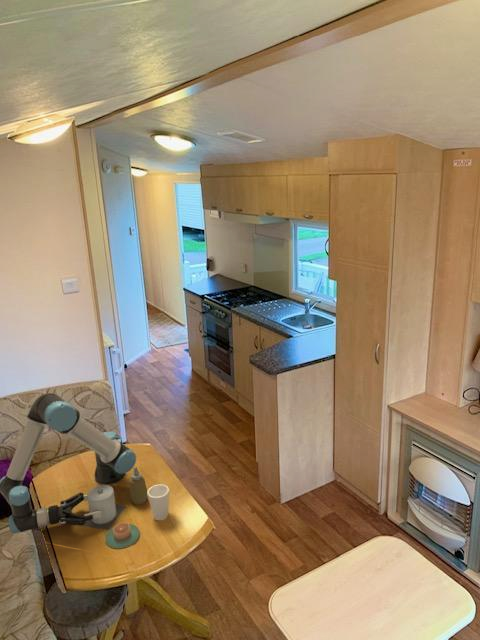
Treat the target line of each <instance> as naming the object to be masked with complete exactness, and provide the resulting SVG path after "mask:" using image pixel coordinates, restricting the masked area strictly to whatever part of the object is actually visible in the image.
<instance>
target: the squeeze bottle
mask: <svg viewBox="0 0 480 640" xmlns="http://www.w3.org/2000/svg"><path fill="white" fill-rule="evenodd" d="M130 475H131V476H130V479H129V497H130V499H131V501H132V503H133V504H134V505H136V506H139V505H143V504H145V503H146V501H147V499H148V494H147V491H148V489H147V484H146V481H145V480H146V479H145V477H144V476H143V474H142V472H141V471H139V468H138V467H136V466H135V467H133V473H131V474H130Z"/></svg>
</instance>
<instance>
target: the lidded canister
mask: <svg viewBox="0 0 480 640" xmlns="http://www.w3.org/2000/svg"><path fill="white" fill-rule="evenodd" d="M87 496H88V501H87V505H88V510H89V513H92V512H96V511H101V517H99V518H95V519H92V521H93V522H94V523H97V524H103V523H107V522H109V521H111V520H113V519H114V517H115V516H116V505H115V504H116V497H115V491H114V488H113V486H111V485H110V484H99V485H96V486H93V487H91V489H89V491H87Z"/></svg>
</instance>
